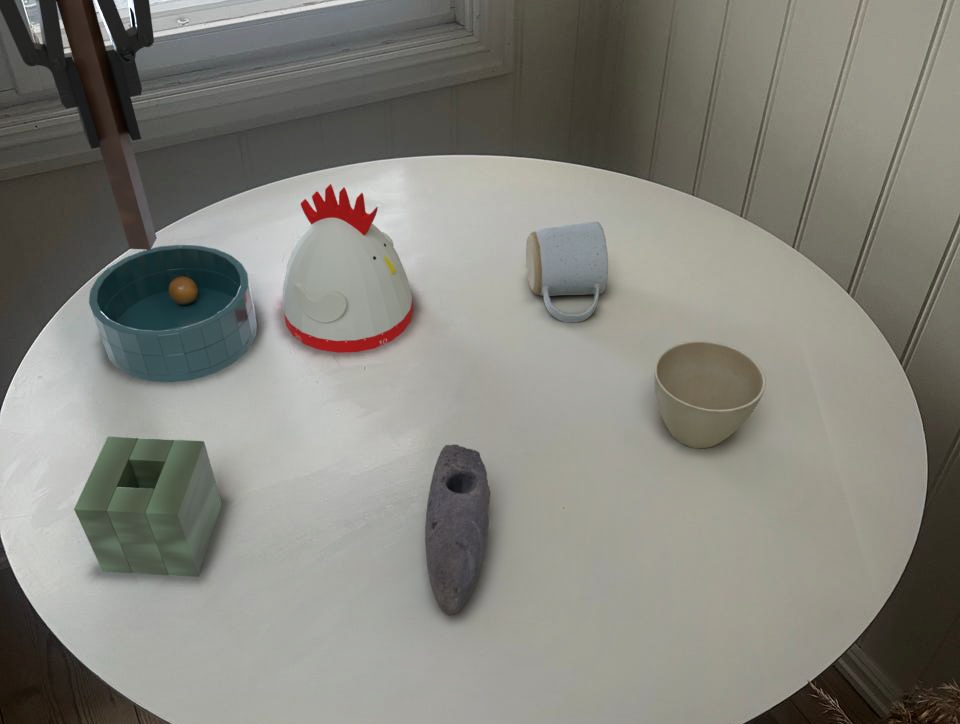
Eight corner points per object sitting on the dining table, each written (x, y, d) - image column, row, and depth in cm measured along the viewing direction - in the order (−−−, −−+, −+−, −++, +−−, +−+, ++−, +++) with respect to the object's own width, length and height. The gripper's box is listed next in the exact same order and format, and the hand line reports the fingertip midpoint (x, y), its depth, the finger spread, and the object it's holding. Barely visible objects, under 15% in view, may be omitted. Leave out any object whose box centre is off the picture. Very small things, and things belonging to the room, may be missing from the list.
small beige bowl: (753, 408, 91) (771, 351, 86) (741, 478, 85) (759, 421, 80) (653, 386, 93) (664, 330, 88) (634, 453, 87) (645, 396, 81)
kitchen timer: (379, 366, 95) (369, 238, 84) (261, 335, 98) (236, 208, 87) (431, 291, 104) (428, 167, 93) (321, 265, 107) (305, 142, 96)
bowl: (84, 379, 93) (65, 331, 88) (132, 288, 103) (118, 241, 99) (238, 386, 92) (227, 339, 88) (270, 294, 103) (262, 247, 98)
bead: (168, 309, 98) (159, 281, 98) (182, 306, 101) (173, 279, 100) (193, 302, 97) (184, 274, 97) (206, 299, 100) (197, 272, 100)
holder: (103, 572, 76) (73, 509, 70) (133, 500, 82) (107, 436, 76) (199, 577, 76) (177, 514, 70) (222, 505, 82) (204, 440, 76)
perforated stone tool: (479, 634, 73) (480, 581, 68) (412, 629, 73) (409, 575, 68) (493, 494, 83) (495, 438, 78) (435, 489, 83) (433, 434, 78)
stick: (129, 248, 86) (55, -2, 70) (136, 237, 87) (64, -12, 71) (150, 250, 86) (81, -1, 70) (156, 238, 87) (90, -11, 71)
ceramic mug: (521, 271, 107) (525, 212, 101) (590, 266, 107) (598, 208, 102) (538, 329, 100) (543, 269, 94) (612, 323, 100) (621, 264, 95)
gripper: (-106, -174, 57) (23, 176, 74) (150, -195, 62) (215, 137, 79) (-114, -200, 62) (9, 136, 79) (125, -218, 67) (192, 102, 84)
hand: (113, 136), depth 79 cm, fingers closed on stick, 3 cm apart
